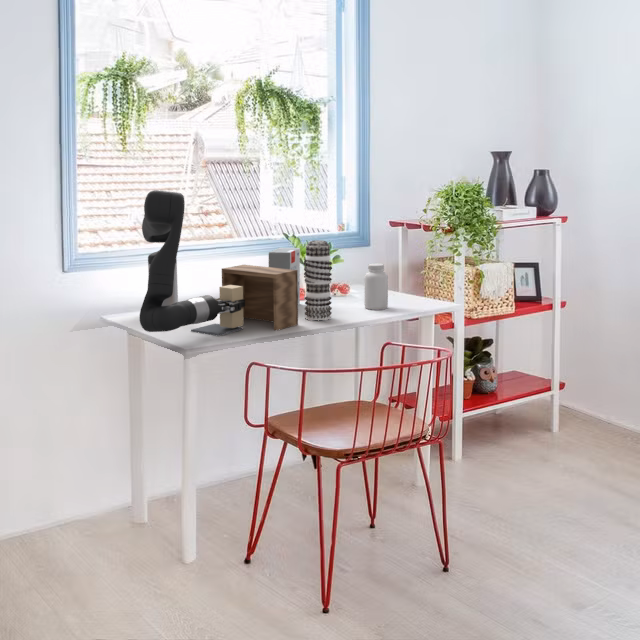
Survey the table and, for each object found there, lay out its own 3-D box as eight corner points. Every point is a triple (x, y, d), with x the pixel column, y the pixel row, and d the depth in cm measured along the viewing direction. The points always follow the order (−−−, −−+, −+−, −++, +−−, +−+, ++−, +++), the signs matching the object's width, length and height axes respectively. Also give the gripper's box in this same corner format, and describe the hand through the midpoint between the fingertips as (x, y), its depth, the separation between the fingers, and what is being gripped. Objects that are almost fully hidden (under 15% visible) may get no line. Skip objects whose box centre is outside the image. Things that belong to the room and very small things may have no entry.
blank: (232, 328, 286) (232, 288, 284) (219, 326, 289) (219, 286, 287) (243, 325, 291) (243, 286, 288) (230, 323, 293) (230, 284, 291)
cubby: (276, 330, 290) (275, 274, 287) (222, 322, 303) (221, 268, 299) (297, 324, 299) (297, 270, 296) (244, 317, 311) (243, 264, 308)
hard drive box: (290, 312, 319) (289, 252, 315) (268, 311, 321) (267, 252, 317) (300, 303, 334) (300, 247, 330) (279, 303, 336) (278, 246, 332)
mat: (218, 335, 283) (218, 333, 283) (191, 331, 290) (191, 329, 289) (242, 329, 292) (242, 327, 292) (215, 325, 298) (215, 323, 298)
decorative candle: (299, 320, 306) (298, 242, 301) (310, 314, 315) (309, 239, 310) (326, 321, 303) (326, 243, 298) (336, 316, 311) (336, 240, 306)
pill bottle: (361, 309, 324) (361, 265, 321) (368, 305, 331) (369, 262, 328) (383, 310, 321) (383, 266, 318) (390, 306, 328) (391, 263, 325)
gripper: (217, 299, 272) (255, 291, 286) (180, 294, 281) (219, 287, 294) (217, 325, 274) (255, 316, 287) (181, 319, 282) (219, 311, 296)
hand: (236, 301), depth 291 cm, fingers closed on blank, 5 cm apart
